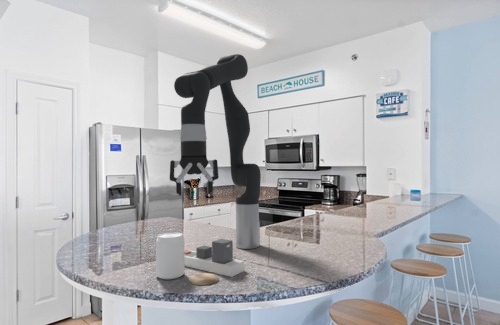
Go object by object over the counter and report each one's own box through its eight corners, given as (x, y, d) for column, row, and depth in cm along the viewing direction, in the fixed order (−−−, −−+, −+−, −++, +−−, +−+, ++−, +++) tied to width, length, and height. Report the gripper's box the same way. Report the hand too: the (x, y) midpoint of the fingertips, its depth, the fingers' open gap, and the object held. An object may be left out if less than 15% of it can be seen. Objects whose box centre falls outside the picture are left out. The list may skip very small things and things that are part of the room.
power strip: (183, 257, 112) (183, 240, 112) (244, 270, 97) (244, 251, 98) (169, 262, 107) (169, 244, 107) (231, 276, 92) (231, 256, 92)
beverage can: (186, 271, 98) (186, 231, 98) (181, 280, 89) (181, 237, 90) (160, 271, 97) (159, 232, 97) (152, 280, 89) (152, 238, 89)
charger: (221, 260, 101) (221, 238, 101) (232, 263, 99) (232, 240, 99) (212, 264, 97) (212, 241, 98) (223, 266, 95) (223, 243, 95)
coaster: (203, 273, 95) (203, 271, 95) (224, 278, 91) (224, 276, 91) (183, 281, 88) (183, 279, 88) (205, 287, 84) (205, 285, 84)
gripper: (215, 141, 100) (216, 192, 100) (168, 141, 96) (169, 194, 96) (219, 139, 93) (220, 194, 93) (169, 139, 89) (170, 197, 89)
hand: (194, 194), depth 95 cm, fingers open, 8 cm apart
